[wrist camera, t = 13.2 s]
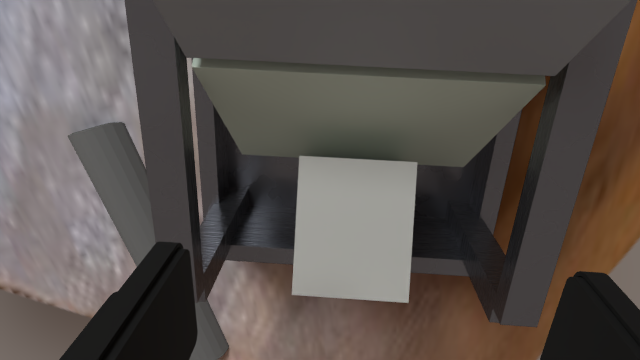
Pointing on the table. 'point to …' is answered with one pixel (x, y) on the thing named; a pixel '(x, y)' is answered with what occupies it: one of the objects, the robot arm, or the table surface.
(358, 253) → the matte off-white cube
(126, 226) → the gray half cylinder
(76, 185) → the table surface
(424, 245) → the trapdoor frame
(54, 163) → the table surface
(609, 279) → the robot arm
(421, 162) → the trapdoor
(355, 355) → the table surface
